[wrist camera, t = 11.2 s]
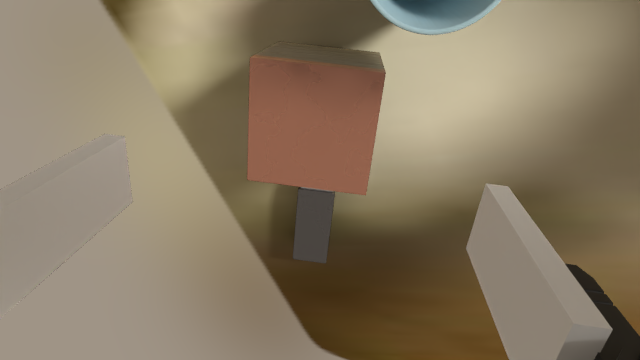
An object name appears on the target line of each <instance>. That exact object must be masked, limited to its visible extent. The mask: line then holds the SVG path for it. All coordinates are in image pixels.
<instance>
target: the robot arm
mask: <svg viewBox="0 0 640 360" xmlns="http://www.w3.org/2000/svg"><path fill="white" fill-rule="evenodd" d="M131 203H132V193H131V185H130V176H129V169H128V160H127V151H126V143H125V137H124V136H117V135H110V134H104V135H102V136H100V137H98V138H96V139H94V140H92V141H91V142H88V143H87V144H85V145H83V146H81V147H79V148H77V149H75V150H73V151H71V152H70V153H68V154H66V155H64V156H62V157H60V158H58V159H57V160H55V161H53V162H51V163H49V164H47V165H45V166H43V167H41V168H39V169H38V170H36V171H34V172H32V173H30V174H28V175H26V176H24V177H23V178H21V179H19V180H17V181H15V182H13V183H11V184H9V185H7V186H6V187H4V188H2V189H0V319H1V318H2V317H3V316H4V315H5V314H6V313H7V312H9V311H10V310H11V309H12V308H13V307H14V306H15V305H17V303H19V302H20V301H21V300H22V299H23V298H24V297H26V296H27V295H28V294H29V293H30V292H31V291H32V290H33V289H34V288H36V287H37V286H38V285H39V284H40V283H41V282H42V281H44V280H45V279H46V278H47V277H48V276H49V275H50V274H52V272H54V271H55V270H56V269H57V268H58V267H59V266H61V265H62V264H63V263H64V262H65V261H66V260H67V259H69V258H70V257H71V256H72V255H73V254H74V253H75V252H76V251H78V250H79V249H80V248H81V247H82V246H83V245H84V244H85V243H87V242H88V241H89V240H90V239H91V238H92V237H93V236H95V235H96V234H97V233H98V232H99V231H100V230H101V229H103V228H104V227H105V226H106V225H107V224H108V223H109V222H110V221H112V219H114V218H115V217H116V216H117V215H118V214H119V213H120V212H122V211H123V210H124V209H125V208H126V207H127V206H129V205H130V204H131ZM466 250H467V252H468V255H469V257H470V260H471V263H472V265H473V268H474V270H475V273H476V275H477V278H478V281H479V283H480V286H481V288H482V291H483V293H484V296H485V299H486V301H487V304H488V306H489V309H490V312H491V314H492V317H493V319H494V322H495V324H496V327H497V330H498V332H499V335H500V337H501V340H502V343H503V345H504V348H505V350H506V353H507V355H508V358H509V360H640V336H639V335H638V334H637V333H636V331H635V330H634V329H633V328H632V326H631V325H630V324H629V322H628V321H627V320H626V319H625V317H624V316H623V315H622V314H621V312H620V311H619V310H618V309H617V307H616V306H613V302H612V301H611V300H610V299H609V297H608V296H607V295H606V294H604V291H603V290H602V289H601V287H600V286H599V285H598V283H597V282H596V281H595V280H594V278H592V277H591V276H590V275H588V274H587V273H586V272H584V271H583V270H582V269H581V268H579V267H578V266H577V265H571V264H565V263H564V262H563V261H562V259H561V258H560V257H559V255H558V254H557V253H556V251H555V250H554V248H553V247H552V246H551V244H550V243H549V242H548V240H547V239H546V237H545V236H544V235H543V233H542V232H541V231H540V229H539V228H538V227H537V225H536V224H535V222H534V221H533V220H532V218H531V217H530V216H529V214H528V213H527V212H526V210H525V209H524V207H523V206H522V205H521V203H520V202H519V201H518V199H517V198H516V196H515V195H514V194H513V192H512V191H511V190H510V188H509V187H508V186H502V185H495V184H487V183H486V184H485V187H484V191H483V194H482V197H481V201H480V204H479V207H478V211H477V214H476V217H475V221H474V224H473V227H472V230H471V234H470V237H469V240H468V244H467V247H466Z"/></svg>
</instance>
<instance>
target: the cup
mask: <svg viewBox="0 0 640 360" xmlns="http://www.w3.org/2000/svg"><path fill="white" fill-rule="evenodd" d="M370 1H371V3H372V4H373V5H374V7H375V8H376V9H377V10H378V11H379V12H380V13H381V14H382V15H383V16H384V17H385V18H386V19H387V20H388V21H390V22H391V23H393V24H394V25H396V26H398V27H400V28H402V29H404V30H407V31H410V32H413V33H417V34H424V35H438V34H446V33H450V32H454V31H457V30H460V29H463V28H465V27H467V26H469V25H471V24H473V23H475V22H476V21H478V20H480V19H481V18H482V17H484V16H485V15H486V14H488V13H489V12H490V11H491V10H492V9H493V8H494V7H495V6H496V5H497V4H498V3H499V2H500V1H501V0H370Z"/></svg>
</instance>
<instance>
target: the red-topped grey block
mask: <svg viewBox="0 0 640 360" xmlns="http://www.w3.org/2000/svg"><path fill="white" fill-rule="evenodd" d="M385 74H386V72H385V69H384V66H383V62H382V59H381V56H380V53H379V52H370V51H361V50H352V49H343V48H334V47H325V46H316V45H308V44H299V43H290V42H281V41H279V42H277V43H275V44H273V45H271V46H270V47H268V48H266V49H264V50H262V51H260V52H259V53H257V54H255V55H253V56H251V57H250V75H249V123H248V170H247V180H252V181H260V182H267V183H275V184H283V185H291V186H299V187H306V188H314V189H322V190H330V191H337V192H345V193H353V194H361V195H366V191H367V185H368V179H369V173H370V167H371V160H372V154H373V148H374V142H375V136H376V130H377V123H378V117H379V111H380V105H381V99H382V93H383V87H384V80H385Z"/></svg>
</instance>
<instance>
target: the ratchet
mask: <svg viewBox="0 0 640 360" xmlns="http://www.w3.org/2000/svg"><path fill="white" fill-rule="evenodd" d="M334 197H335V191H330V190H322V189H314V188H306V187H299V189H298V200H297V213H296V225H295V237H294V250H293V259H297V260H305V261H312V262H319V263H326V260H327V252H328V245H329V237H330V229H331V221H332V213H333V205H334Z"/></svg>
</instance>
